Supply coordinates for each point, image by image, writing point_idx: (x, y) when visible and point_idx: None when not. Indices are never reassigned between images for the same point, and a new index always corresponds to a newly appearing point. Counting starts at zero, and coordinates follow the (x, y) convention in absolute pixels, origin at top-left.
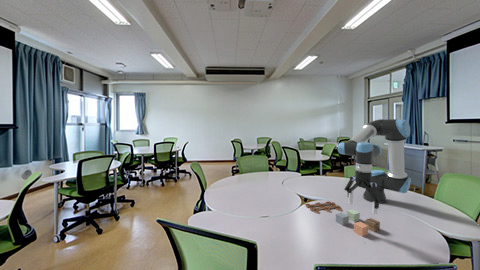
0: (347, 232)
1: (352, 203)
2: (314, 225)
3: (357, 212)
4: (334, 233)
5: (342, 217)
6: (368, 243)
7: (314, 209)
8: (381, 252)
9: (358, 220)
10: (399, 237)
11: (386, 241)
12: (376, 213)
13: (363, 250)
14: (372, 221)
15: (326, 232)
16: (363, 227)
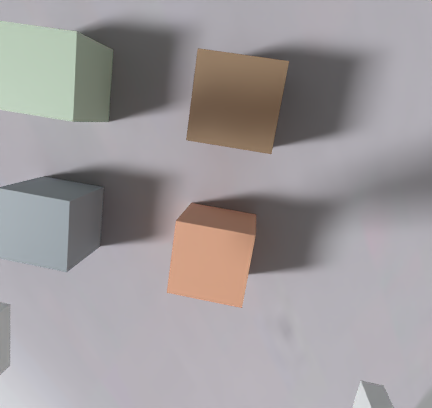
0: (166, 301)
1: (8, 309)
2: (18, 380)
3: (61, 46)
4: (131, 370)
5: (61, 270)
6: (303, 319)
7: None
8: (388, 349)
9: (111, 63)
10: (427, 54)
11: (372, 203)
12: (383, 398)
13: (313, 402)
14: (240, 120)
15: (102, 393)
16: (242, 296)
